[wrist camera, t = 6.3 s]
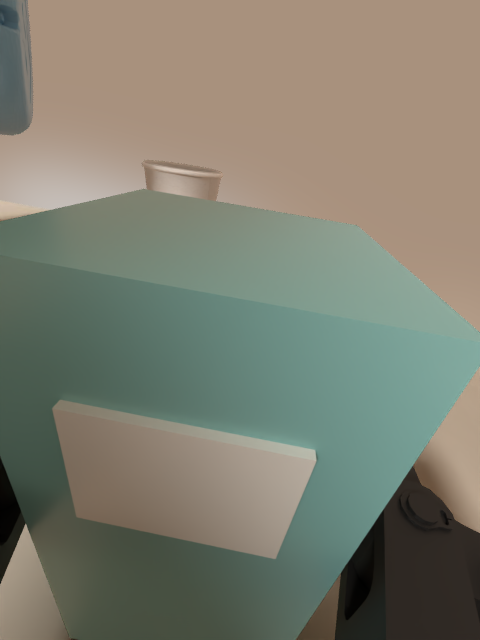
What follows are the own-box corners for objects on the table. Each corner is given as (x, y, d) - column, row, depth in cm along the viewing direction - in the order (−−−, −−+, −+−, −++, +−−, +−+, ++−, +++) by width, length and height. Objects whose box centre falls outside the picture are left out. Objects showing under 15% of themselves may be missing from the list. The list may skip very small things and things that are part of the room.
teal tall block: (66, 645, 8) (-99, 244, 3) (147, 460, 13) (143, 189, 8) (266, 691, 8) (503, 354, 3) (272, 486, 13) (357, 224, 8)
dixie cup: (182, 244, 41) (186, 163, 36) (228, 263, 37) (239, 174, 32) (128, 253, 35) (124, 157, 30) (175, 276, 31) (179, 170, 26)
